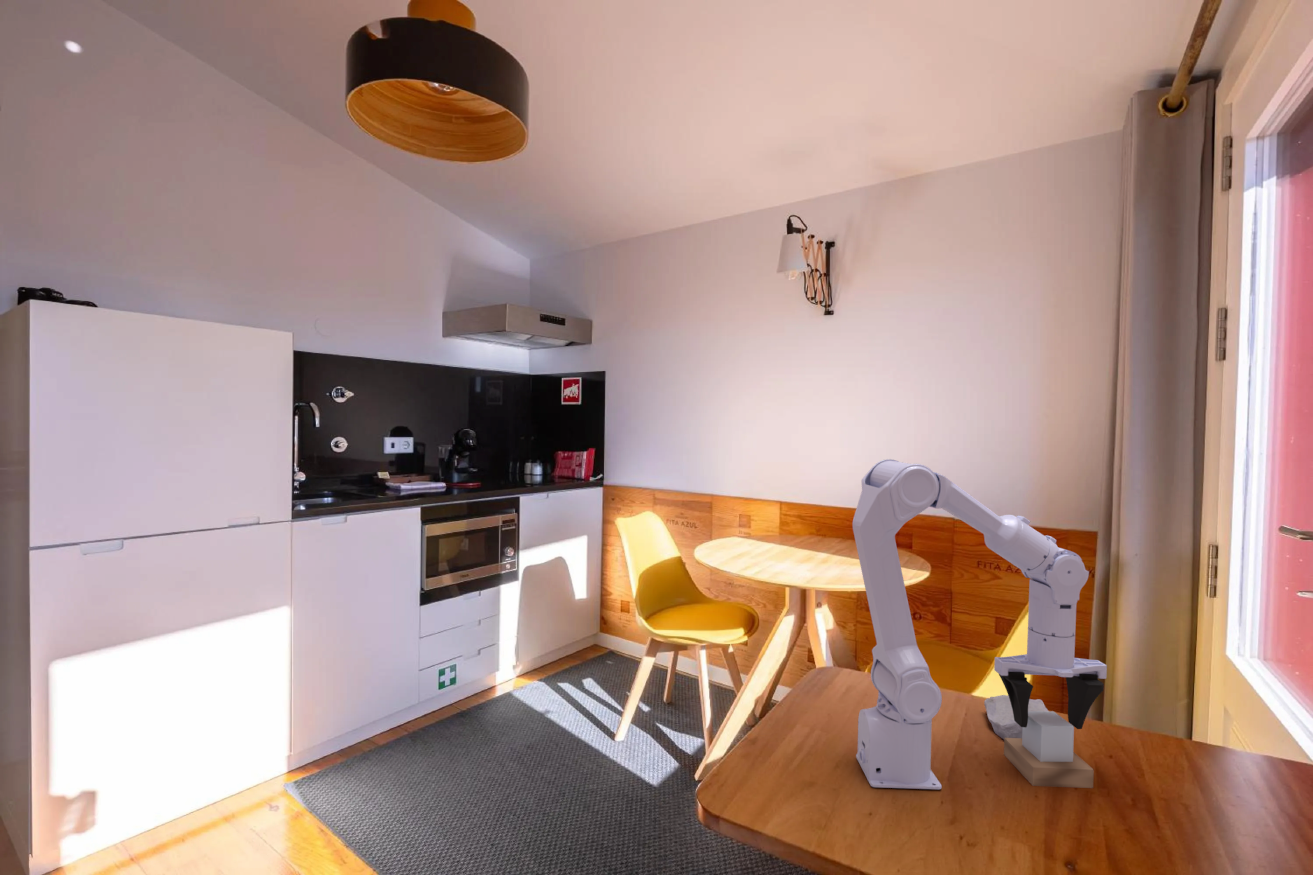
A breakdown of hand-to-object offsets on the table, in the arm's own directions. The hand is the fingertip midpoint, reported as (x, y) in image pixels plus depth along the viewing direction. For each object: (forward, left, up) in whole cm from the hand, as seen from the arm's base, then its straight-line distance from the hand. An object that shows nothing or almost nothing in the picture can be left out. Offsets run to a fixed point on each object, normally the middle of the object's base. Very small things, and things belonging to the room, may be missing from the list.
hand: (1047, 724), depth 91 cm
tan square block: (0, 0, -7) cm, 7 cm away
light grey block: (0, 0, -4) cm, 4 cm away
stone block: (+3, +12, -7) cm, 15 cm away
